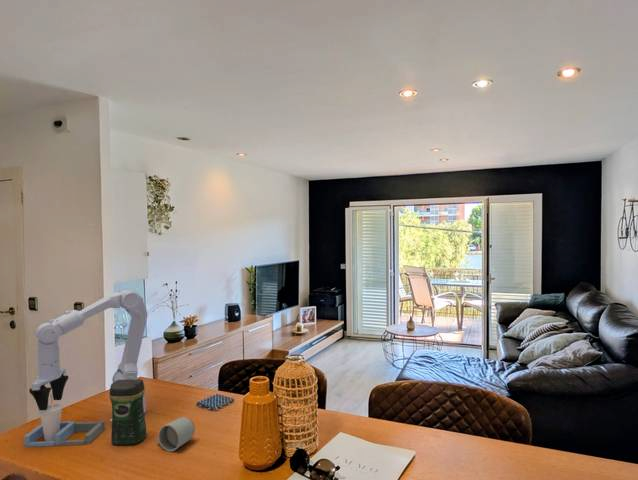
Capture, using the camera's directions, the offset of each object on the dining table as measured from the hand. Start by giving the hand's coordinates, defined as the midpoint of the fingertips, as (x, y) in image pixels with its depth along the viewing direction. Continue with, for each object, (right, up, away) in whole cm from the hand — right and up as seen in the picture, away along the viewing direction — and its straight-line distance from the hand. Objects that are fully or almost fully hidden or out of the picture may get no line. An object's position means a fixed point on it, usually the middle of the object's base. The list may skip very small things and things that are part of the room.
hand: (50, 404), depth 134 cm
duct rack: (+5, -10, 0) cm, 11 cm away
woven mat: (+46, -9, +23) cm, 53 cm away
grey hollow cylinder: (+41, -10, -6) cm, 43 cm away
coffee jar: (+26, -10, -3) cm, 28 cm away
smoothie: (+1, -11, -1) cm, 11 cm away
